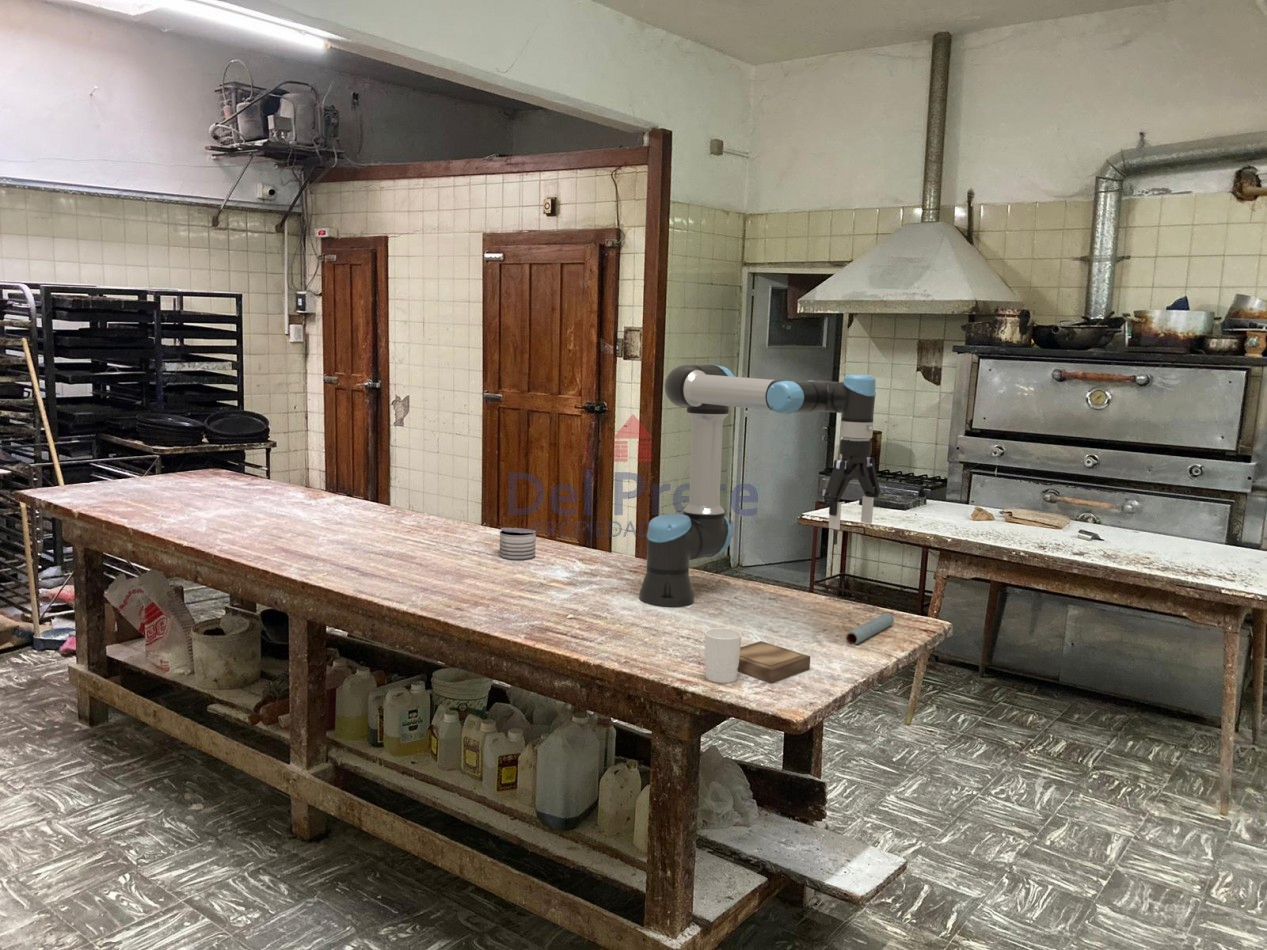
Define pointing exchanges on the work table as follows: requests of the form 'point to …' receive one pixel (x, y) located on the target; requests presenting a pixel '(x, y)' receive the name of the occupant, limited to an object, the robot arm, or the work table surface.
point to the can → (517, 544)
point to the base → (771, 662)
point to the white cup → (722, 654)
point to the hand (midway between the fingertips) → (850, 525)
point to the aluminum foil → (869, 629)
